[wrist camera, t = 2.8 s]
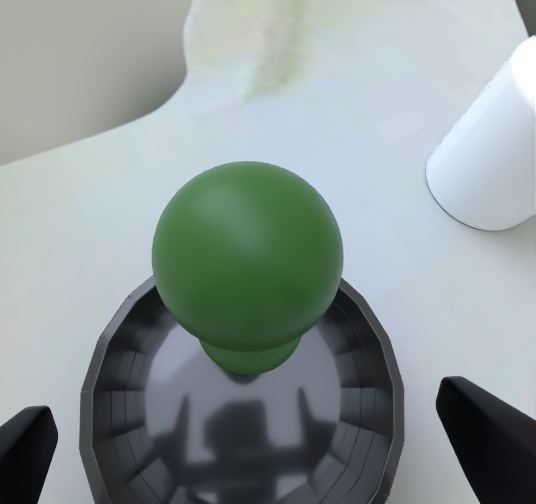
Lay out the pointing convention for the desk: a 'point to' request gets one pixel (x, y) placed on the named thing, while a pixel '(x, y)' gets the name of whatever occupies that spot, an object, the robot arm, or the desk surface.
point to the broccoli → (247, 262)
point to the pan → (241, 414)
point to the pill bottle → (492, 151)
